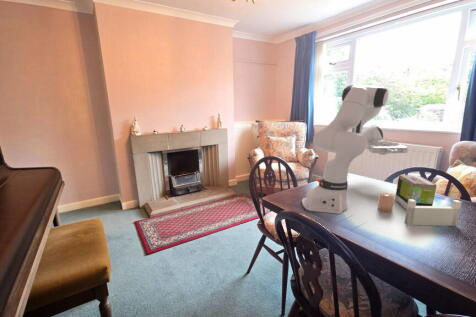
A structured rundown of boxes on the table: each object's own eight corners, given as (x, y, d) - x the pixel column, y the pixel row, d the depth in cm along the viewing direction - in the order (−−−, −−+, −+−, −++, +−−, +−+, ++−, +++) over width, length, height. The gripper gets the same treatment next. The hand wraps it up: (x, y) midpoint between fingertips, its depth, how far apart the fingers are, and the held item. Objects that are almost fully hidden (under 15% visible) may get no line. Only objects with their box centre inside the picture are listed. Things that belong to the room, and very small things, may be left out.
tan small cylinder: (381, 212, 110) (383, 197, 108) (375, 207, 116) (377, 192, 114) (394, 213, 110) (397, 197, 108) (387, 207, 116) (389, 192, 114)
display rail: (407, 224, 99) (411, 201, 97) (404, 222, 101) (408, 199, 99) (456, 225, 98) (461, 202, 95) (452, 223, 100) (457, 200, 97)
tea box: (431, 213, 109) (437, 184, 105) (408, 212, 111) (413, 183, 107) (414, 201, 123) (419, 174, 119) (394, 199, 125) (398, 174, 121)
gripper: (365, 142, 144) (377, 146, 130) (399, 142, 142) (414, 146, 129) (364, 152, 145) (376, 157, 132) (398, 152, 144) (413, 157, 130)
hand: (395, 152), depth 130 cm, fingers closed
